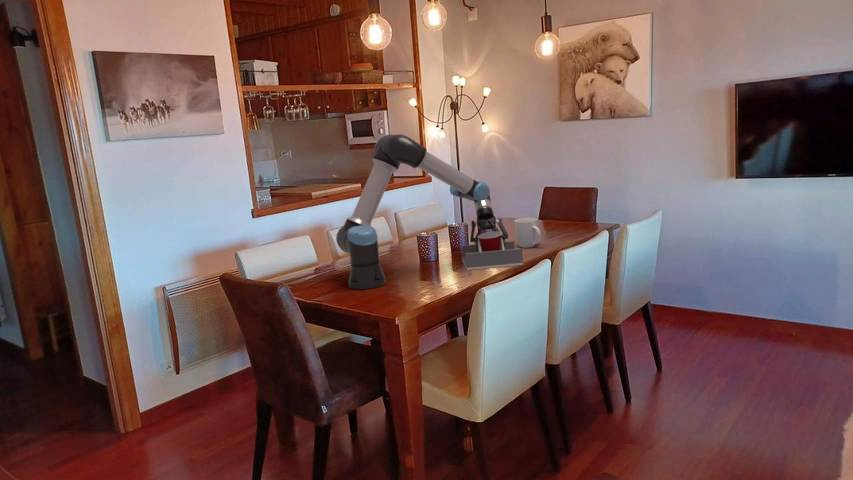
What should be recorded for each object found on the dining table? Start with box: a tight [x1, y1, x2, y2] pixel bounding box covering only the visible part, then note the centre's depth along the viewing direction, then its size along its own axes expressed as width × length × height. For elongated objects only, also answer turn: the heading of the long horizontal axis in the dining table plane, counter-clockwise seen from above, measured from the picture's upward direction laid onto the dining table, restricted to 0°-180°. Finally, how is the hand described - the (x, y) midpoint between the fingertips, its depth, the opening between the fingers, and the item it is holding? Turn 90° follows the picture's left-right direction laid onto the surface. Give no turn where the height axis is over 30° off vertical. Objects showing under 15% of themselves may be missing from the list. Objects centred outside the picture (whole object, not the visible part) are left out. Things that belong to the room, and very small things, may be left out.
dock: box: [461, 240, 524, 271], centre depth 258 cm, size 24×18×7 cm
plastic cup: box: [478, 231, 503, 252], centre depth 257 cm, size 11×11×12 cm
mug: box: [514, 217, 542, 249], centre depth 282 cm, size 15×11×13 cm
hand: (492, 252), depth 254 cm, fingers closed on plastic cup, 9 cm apart
